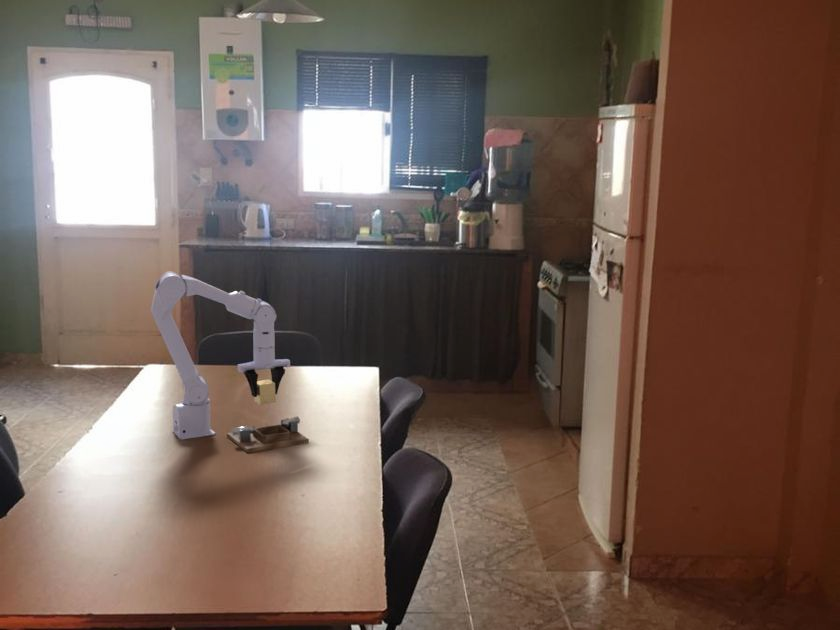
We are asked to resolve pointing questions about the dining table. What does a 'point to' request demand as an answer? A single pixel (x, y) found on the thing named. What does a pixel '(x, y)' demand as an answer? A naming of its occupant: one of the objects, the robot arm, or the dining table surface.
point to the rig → (269, 439)
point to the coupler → (265, 392)
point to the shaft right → (291, 424)
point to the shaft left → (244, 433)
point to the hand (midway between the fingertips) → (264, 394)
